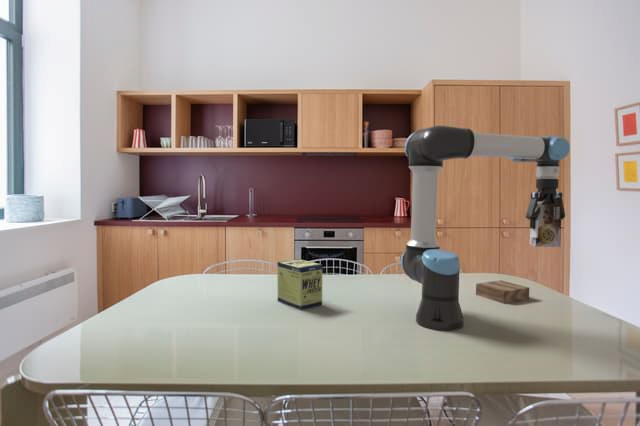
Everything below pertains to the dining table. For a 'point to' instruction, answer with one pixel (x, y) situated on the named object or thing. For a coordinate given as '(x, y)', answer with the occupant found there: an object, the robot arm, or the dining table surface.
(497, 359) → the dining table surface
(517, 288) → the walnut riser block
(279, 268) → the protein box
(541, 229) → the coffee box
